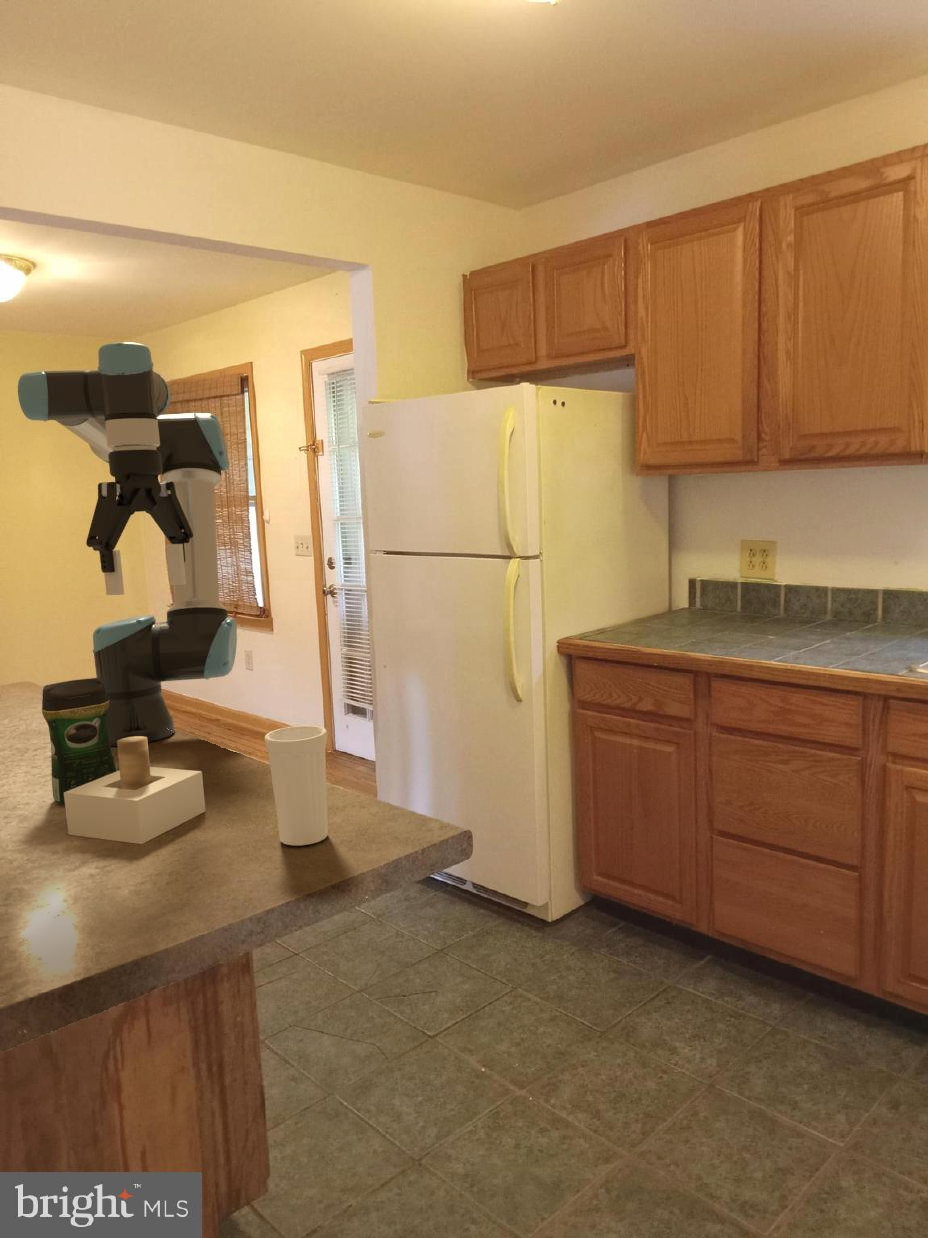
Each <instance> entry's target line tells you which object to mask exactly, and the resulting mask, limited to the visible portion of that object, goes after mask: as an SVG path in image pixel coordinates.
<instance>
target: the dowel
mask: <svg viewBox="0 0 928 1238" xmlns="http://www.w3.org/2000/svg"><path fill="white" fill-rule="evenodd" d="M116 747H117V756H118V766H119V767H118V768H119V770H120V780H121V789H130V790H137V789H139V788H142V787H144V786H146V785H149V784H151V775H150V767H151V766H150V765H151V764H150V754H149V742H148V740H147V737H144V736H134V737H127V738H123V739H120V740H118V741H117V746H116Z"/></svg>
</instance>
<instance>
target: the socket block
mask: <svg viewBox="0 0 928 1238" xmlns="http://www.w3.org/2000/svg"><path fill="white" fill-rule="evenodd" d="M150 775H151V784H149V785H146V786H144V787H142V788H139V789H137V790H130V789H121V780H120V769H119V770H117V772H114V773H112V774H109V775H107V776H104V777H102V778H99V779H97V780H94V781H92V782H89V783H87V784H84V785H82V786H79V787H77V788H74V789H72V790H69V791H67V792H64V800H65V805H64V808H65V816H66V823H67V824H66V825H67V833H68V835H69V836H70V835H71V836H78V837H85V838H91V839H97V840H98V839H100V840H108V841H114V842H115V841H116V842H123V843H130V844H137V845H143V844H145V843H147V842H149V841H150V840H152V839H154V838H157V837H158V836H160V835H162V834H165V833H166V832H168V831H170V830H172V829H174V828H176V827H178V826H180V825H181V824H184V823H187V821H189V820H192V819H193V818H195V817H197V816H199V815H201V814H203V813H205V812H206V811H207V810H206V801H205V800H206V799H205V793H204V781H203V772H202V771H201V770H191V769H179V768H169V767H168V768H167V767H158V766H157V767H156V766H150Z"/></svg>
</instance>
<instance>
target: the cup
mask: <svg viewBox="0 0 928 1238" xmlns="http://www.w3.org/2000/svg"><path fill="white" fill-rule="evenodd" d="M327 743H328V732H327V729H326V728H324V727H322V726H317V725H297V726H295V725H294V726H288V727H282V728H278V729H275V730H271V731H270V732H268V733H266V734H265V736H264V745H265V748H266V749H265V750H267V752H268V753H267V754H268V759H269V767H270V775H271V783H272V791H273V797H274V803H275V804H274V805H275V812H276V821H277V827H278V834H279V840H280V841H279V842H281V843H282V844H285V845H289V846H306V845H312V844H316V843H319V842H321V841H323V840H325V839H326V838H327V837H328V836H329V830H328V829H329V828H328V826H329V824H328V799H327V798H328V797H327V796H328V795H327V769H326V768H327V766H326V765H327V763H326V745H327Z"/></svg>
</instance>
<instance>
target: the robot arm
mask: <svg viewBox="0 0 928 1238" xmlns="http://www.w3.org/2000/svg"><path fill="white" fill-rule="evenodd" d="M97 354H98V368H97V369H82V370H79V369H78V370H45V369H43V370H41V371H40V370H39V371H31V372H25V373H23V374H22V375H20V377H19V379H18V381H17V397H18V401H19V402H18V403H19V406H20V409H21V412H22V413H23V415H24V416H25V418H27V419H28V420H31V421H43V422H48V421H56V423H59V424H60V425H61V426H63V427H64V428H65V429H67V430H68V431H70V432H71V433H72V434H74V436H75V435H76V436H77V437H79V438H80V439H81V440H83V441H84V442H86V443H87V444H88V446H89V448H90V450H91V451H92V452H93V454H94V455H95V456H96V457H97V458H99V459H101V460H102V461H103V462H105V463H107V464H108V466H109V467H108V468H109V474H110V476H111V477H114V481H106V482H99V483H98V484H97V500H96V504H95V508H94V511H93V516H92V519H91V523H90V527H89V530H88V535H87V538H86V543H85V544H86V546H87V547H88V548H92V549H93V551H95V552H98V553H99V562H100V569H101V572H102V573H103V574H104V582H105V583H104V585H105V593H106V596H122V595H125V587H124V578H123V570H122V569H123V568H122V560H121V559H122V558H121V550H120V549H115V548H116V547H117V545H118V543H119V541H120V539H121V537H122V534H123V532H124V531H125V528H126V527H127V524H128V522H129V520H130V519H131V516H132V515H134V514H135V513H136V512H140V513H141V512H142V513H143V512H145V513H146V514H148V515H150V517H151V518H152V519H153V521H154V523H156V526H158V528H159V530H161V532H162V533H163V535H164V536H165V537H166V539H167V541H168V542H169V544H165V549H166V559H167V561H166V562H167V569H168V580H169V586H173V594H174V595H173V598H174V601H173V602H174V603H173V605H172V606H171V607H170V608H169V609H168V610H167V611H166V621H164V622H163V621H161V622H157V619H156V618H155V616H154V615H151V614H149V615H142V616H141V615H140V616H135V617H130V618H124V619H120V620H116V621H111V622H108V623H104V624H102V625H99V626H98V627H96V628H95V629H94V631H93V633H92V642H93V644H92V645H93V649H92V653H93V659H94V667H95V675H96V678H98V679H100V680H102V681H103V683H104V686H105V689H106V692H107V696H108V700H109V709H108V712H107V717H106V719H107V728H108V735H109V740H110V745H111V747H117V741H118V740H120V739H123V738H127V737H134V736H144V737H147V740H148V743H150V742H154V741H155V742H156V741H159V740H162V739H165V738H168V737H170V736H171V735H173V734H174V733H175V732H176V727H175V726H176V725H175V721H174V718H173V716H171V714H170V710H169V708H168V705H167V703H166V700H165V698H164V695H163V691H162V689H163V688H162V683H163V682H176V681H188V680H203V679H204V680H210V679H212V678H213V679H214V678H222V677H226V676H228V675H229V674H230V673H231V672H232V671H233V667H234V664H235V662H236V661H235V660H236V653H237V644H238V643H237V642H238V638H237V637H238V634H237V631H238V630H237V629H238V626H237V621H236V619H235V618H234V617H232V616H229V610H228V609H227V607H226V606H224V605H223V604H222V603H221V602H220V587H219V586H220V584H219V563H218V561H219V560H218V546H217V545H218V540H217V522H216V521H217V518H216V497H215V488H216V486H217V485H219V484H220V483H221V482H222V472H226V471H228V470H229V468H230V463H229V456H228V451H227V450H228V449H227V445H226V441H225V436H224V433H223V428H222V425H221V423H220V420H219V419H218V417H217V416H216V415H214V414H213V413H196V412H192V413H177V414H173V413H170V414H164V413H165V412H166V411H167V410H168V409H169V406H170V404H171V400H172V399H171V397H172V394H171V390H170V388H169V385H168V383H167V382H166V380H165V379H164V377H163V376H161V374H159V373H158V372H155V370H154V362H153V359H152V355H151V350H150V348H149V347H148V346H147V345H145V344H142V343H137V342H111V343H105V344H103V345H101V346H100V347H99V348H98V353H97ZM159 476H161V480H162V481H160V480H159ZM167 728H168V729H169V730H168V729H167ZM171 730H172V731H171ZM174 731H175V732H174ZM172 733H173V734H172Z"/></svg>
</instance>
